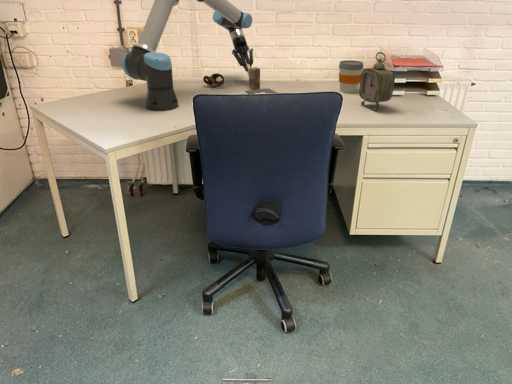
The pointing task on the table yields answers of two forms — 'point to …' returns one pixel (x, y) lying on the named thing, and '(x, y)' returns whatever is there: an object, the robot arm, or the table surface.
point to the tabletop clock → (376, 83)
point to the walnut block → (254, 78)
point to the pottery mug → (214, 80)
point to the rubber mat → (260, 91)
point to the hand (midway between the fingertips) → (250, 75)
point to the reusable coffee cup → (350, 75)
